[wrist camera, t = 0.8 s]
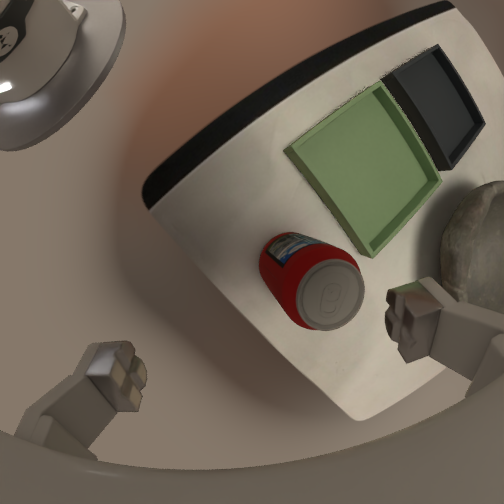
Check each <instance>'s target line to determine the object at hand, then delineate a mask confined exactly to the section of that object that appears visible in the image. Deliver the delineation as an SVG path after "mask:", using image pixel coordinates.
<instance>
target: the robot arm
mask: <svg viewBox="0 0 504 504" xmlns="http://www.w3.org/2000/svg"><path fill="white" fill-rule="evenodd" d="M86 13H87V10H86V9H85V8H84V7H83V6H81V5H78V4H75V3H72V2H70V1H67V0H0V105H1V104H3V103H5V102H17V101H21V100H23V99H26V98H27V97H29V96H31V95H33V94H34V93H35V92H37V91H38V90H39V89H41V88H42V87H43V86H44V85H45V84H46V83H47V82H48V81H49V80H50V79H51V78H52V77H53V76H54V75H55V74H56V73H57V71H58V70H59V69H60V68H61V66H62V65H63V63H64V62H65V60H66V59H67V57H68V55H69V54H70V52H71V50H72V47H73V45H74V42H75V39H76V34H77V30H78V27H79V25H80V23H81V22H82V20H83V19H84V17H85V15H86ZM386 302H387V303H388V304H389V308H388V309H387V311H386V312H385V325H386V330H387V332H388V335H389V337H390V338H391V340H393V341H395V342H397V343H399V344H398V351H399V353H400V354H401V356H402V357H403V359H404V361H405V362H406V364H407V363H410V362H413V361H415V360H418V359H421V358H423V357H426V356H428V355H429V357H431V358H433V359H434V360H436V361H438V362H440V363H441V364H443V365H445V366H447V367H448V368H450V369H452V370H454V371H455V372H457V373H459V374H461V375H462V376H464V377H466V378H467V379H469V380H471V381H472V382H471V384H470V386H469V388H468V390H467V392H466V394H465V399H463V400H462V401H460V402H458V403H457V404H454V405H453V406H451V407H449V408H447V409H445V410H443V411H441V412H439V413H437V414H435V415H433V416H431V417H429V418H427V419H425V420H423V421H421V422H418V423H416V424H414V425H412V426H409V427H407V428H404V429H402V430H399V431H397V432H394V433H392V434H390V435H387V436H384V437H381V438H378V439H375V440H373V441H370V442H366V443H364V444H360V445H357V446H354V447H350V448H347V449H344V450H340V451H336V452H332V453H328V454H324V455H320V456H316V457H311V458H307V459H301V460H296V461H291V462H285V463H279V464H272V465H264V466H256V467H246V468H234V469H215V470H175V469H157V468H146V467H135V466H128V465H120V464H114V463H108V462H102V461H97V460H98V459H97V457H96V455H94V454H93V453H92V452H90V451H89V450H88V448H89V446H90V445H91V444H92V443H93V442H94V440H95V439H96V438H97V437H98V436H99V434H100V433H101V432H102V431H103V430H104V428H105V427H106V426H107V425H108V424H109V422H110V421H111V420H112V419H113V418H114V416H115V415H116V414H117V412H138V411H139V408H140V403H141V400H142V397H143V396H142V394H141V392H140V391H141V390H142V389H143V388H144V387H145V386H146V381H147V370H146V368H145V365H144V363H143V361H142V360H141V359H140V358H139V357H137V356H136V355H135V348H134V346H133V345H132V343H131V342H129V341H114V342H103V343H102V342H101V343H92V344H90V345H88V347H87V349H86V351H85V353H84V354H83V356H82V358H81V360H80V362H79V364H78V365H77V367H76V369H75V371H74V373H73V375H70V376H68V377H67V378H65V379H64V380H63V381H61V382H60V383H59V384H58V385H56V386H55V387H54V388H53V389H51V390H50V391H49V392H48V393H46V394H45V395H44V396H43V397H41V398H40V399H39V400H38V401H36V402H35V403H34V404H33V405H32V406H30V407H29V408H28V409H26V411H25V413H24V415H23V417H22V419H21V421H20V423H19V426H18V427H17V430H16V432H15V434H14V436H12V435H10V434H8V433H5V432H3V431H1V430H0V504H504V314H501V313H498V312H495V311H492V310H488V309H485V308H482V307H479V306H476V305H472V304H469V303H466V302H463V301H460V302H457V301H456V300H455V299H454V298H453V297H452V296H451V295H450V294H448V293H447V292H446V291H445V290H444V289H443V288H442V287H441V286H440V285H439V284H438V283H437V282H436V281H435V280H434V279H432V278H431V277H425V278H422V279H419V280H416V281H415V282H412V283H409V284H405V285H402V286H399V287H396V288H392V289H389V290H388V292H387V296H386Z"/></svg>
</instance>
